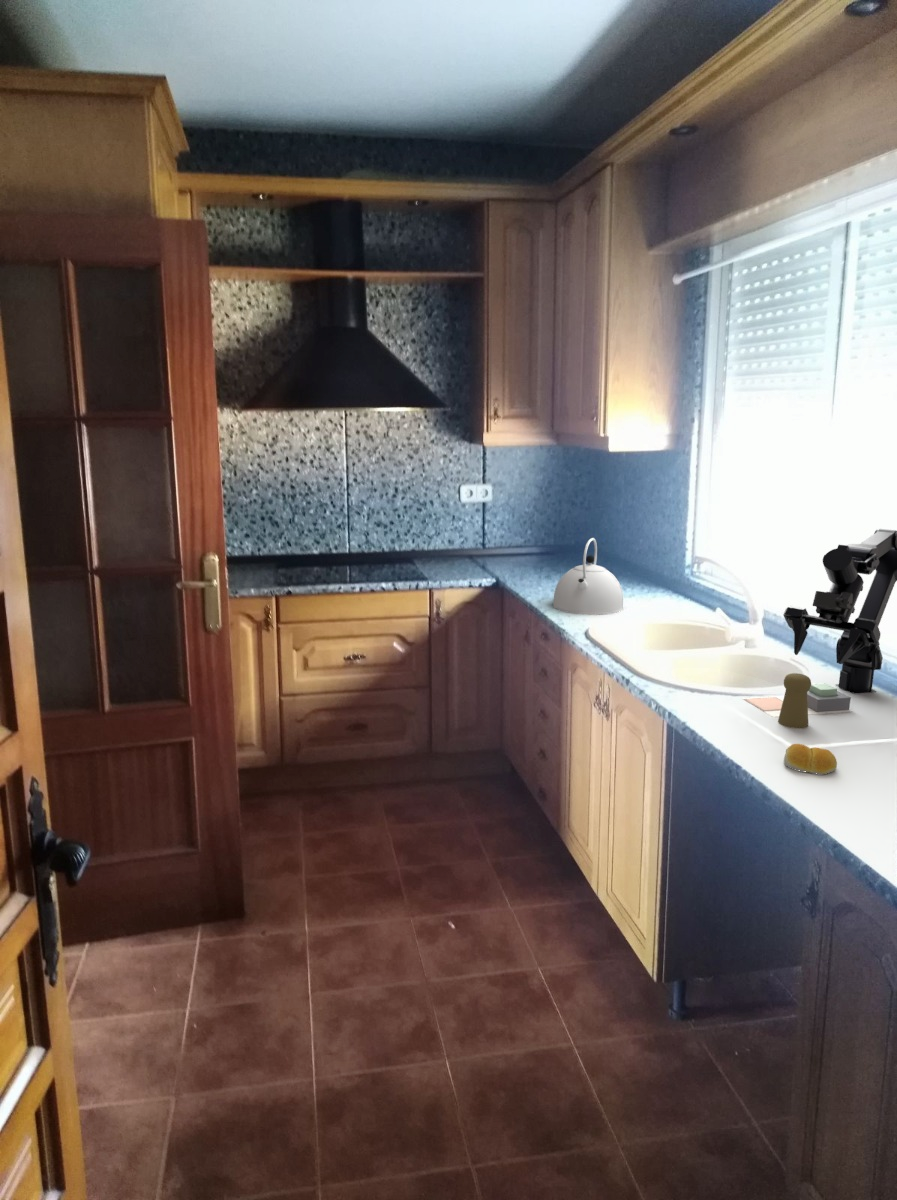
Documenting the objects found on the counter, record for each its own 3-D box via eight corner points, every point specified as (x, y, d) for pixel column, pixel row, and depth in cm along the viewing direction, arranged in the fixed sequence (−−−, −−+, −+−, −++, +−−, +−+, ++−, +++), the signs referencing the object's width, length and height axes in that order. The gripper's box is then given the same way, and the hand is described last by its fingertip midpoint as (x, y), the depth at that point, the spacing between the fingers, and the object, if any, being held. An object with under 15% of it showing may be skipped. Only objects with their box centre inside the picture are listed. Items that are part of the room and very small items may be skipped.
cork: (800, 720, 184) (806, 670, 182) (813, 731, 178) (819, 679, 176) (772, 720, 184) (777, 670, 181) (784, 731, 178) (789, 679, 175)
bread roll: (836, 779, 155) (839, 758, 155) (783, 771, 159) (785, 750, 158) (835, 762, 163) (837, 742, 162) (783, 754, 166) (785, 734, 165)
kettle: (614, 619, 270) (618, 547, 265) (543, 612, 278) (546, 541, 273) (628, 603, 293) (632, 536, 288) (562, 597, 301) (565, 531, 296)
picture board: (817, 696, 200) (818, 681, 199) (851, 714, 188) (853, 698, 188) (742, 701, 196) (743, 686, 195) (772, 719, 184) (774, 704, 183)
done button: (824, 693, 194) (825, 683, 194) (836, 699, 190) (837, 688, 190) (808, 694, 193) (809, 684, 193) (819, 700, 189) (821, 689, 189)
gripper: (790, 569, 189) (763, 630, 184) (881, 582, 176) (855, 648, 171) (802, 597, 196) (777, 656, 192) (891, 611, 183) (866, 675, 179)
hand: (817, 658), depth 183 cm, fingers open, 9 cm apart
